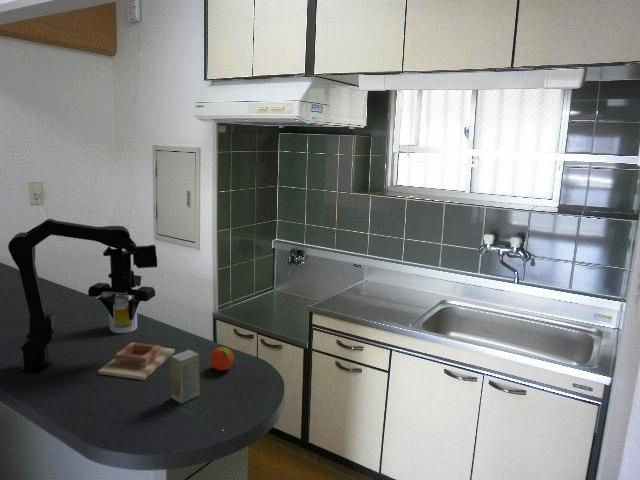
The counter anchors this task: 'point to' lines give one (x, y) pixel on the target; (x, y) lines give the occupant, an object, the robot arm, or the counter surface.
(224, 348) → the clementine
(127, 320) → the supplement bottle
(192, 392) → the skincare box
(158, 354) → the maple holder board
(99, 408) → the counter surface
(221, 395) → the counter surface
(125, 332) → the soap bottle
